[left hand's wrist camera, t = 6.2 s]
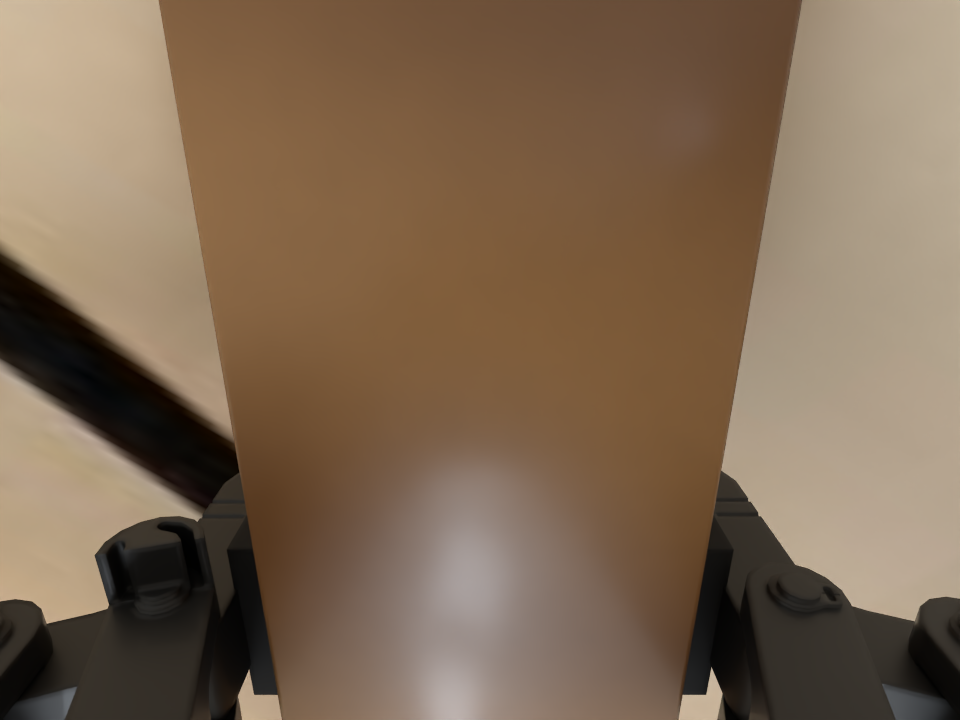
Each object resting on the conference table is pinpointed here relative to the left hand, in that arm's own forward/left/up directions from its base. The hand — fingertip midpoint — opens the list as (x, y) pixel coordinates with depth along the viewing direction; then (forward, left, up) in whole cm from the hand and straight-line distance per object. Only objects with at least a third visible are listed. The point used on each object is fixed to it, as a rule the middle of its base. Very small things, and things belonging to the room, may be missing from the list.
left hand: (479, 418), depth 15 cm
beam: (+2, +22, 0) cm, 22 cm away
